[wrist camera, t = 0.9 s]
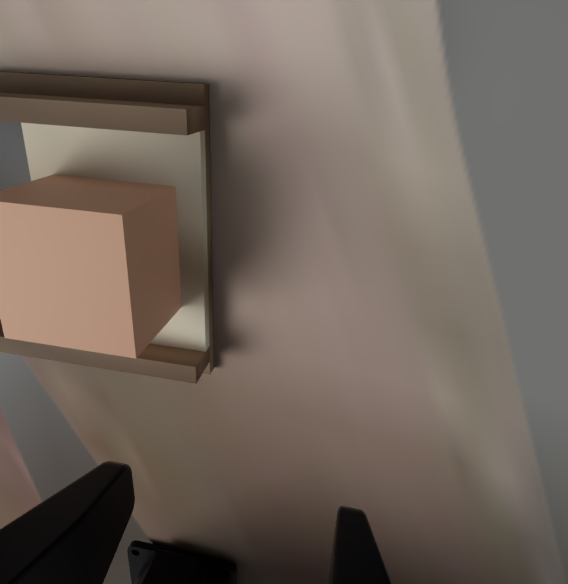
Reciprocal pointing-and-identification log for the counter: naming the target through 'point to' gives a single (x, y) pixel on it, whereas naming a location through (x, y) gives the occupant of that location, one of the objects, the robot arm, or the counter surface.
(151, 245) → the terracotta block
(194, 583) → the robot arm
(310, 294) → the counter surface
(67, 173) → the trap lane
